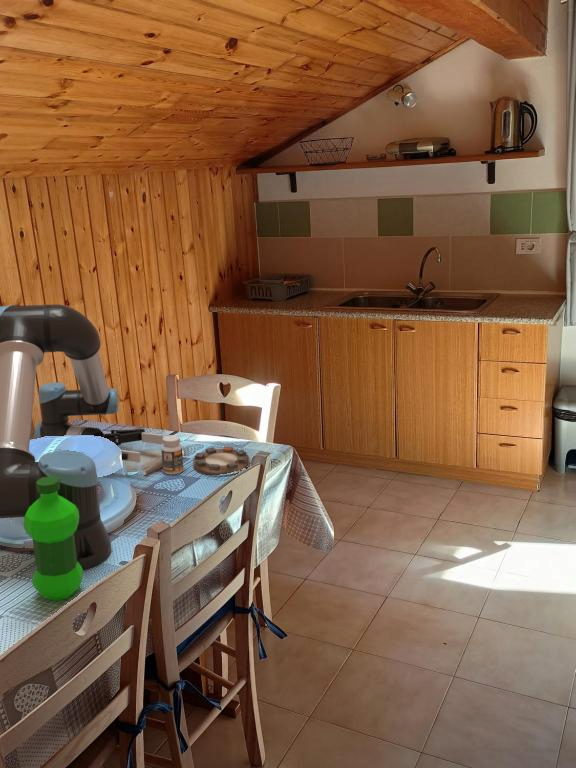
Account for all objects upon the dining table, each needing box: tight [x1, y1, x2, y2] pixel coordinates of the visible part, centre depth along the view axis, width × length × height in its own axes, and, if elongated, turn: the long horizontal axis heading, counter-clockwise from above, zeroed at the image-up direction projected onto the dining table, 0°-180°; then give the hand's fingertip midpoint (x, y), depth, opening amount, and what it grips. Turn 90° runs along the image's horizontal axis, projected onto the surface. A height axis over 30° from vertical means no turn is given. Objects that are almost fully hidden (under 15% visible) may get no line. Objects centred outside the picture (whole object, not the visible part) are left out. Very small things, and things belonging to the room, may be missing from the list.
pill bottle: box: [160, 434, 184, 475], centre depth 210 cm, size 6×6×10 cm
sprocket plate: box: [192, 446, 251, 476], centre depth 215 cm, size 16×16×2 cm
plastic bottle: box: [22, 476, 84, 602], centre depth 150 cm, size 10×10×25 cm
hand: (151, 448), depth 212 cm, fingers open, 13 cm apart
